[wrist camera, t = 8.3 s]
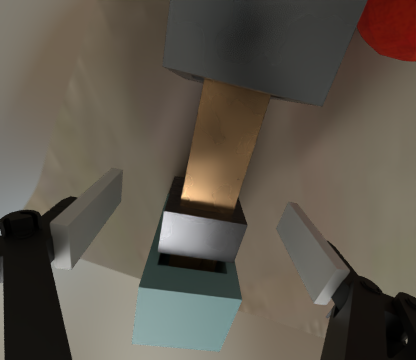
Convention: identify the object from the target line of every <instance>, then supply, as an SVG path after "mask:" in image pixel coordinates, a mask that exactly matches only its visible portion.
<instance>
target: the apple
mask: <svg viewBox="0 0 416 360" xmlns="http://www.w3.org/2000/svg"><path fill="white" fill-rule="evenodd" d="M357 28H358V30H359V32H360V34H361V36H362V38H363V39H364V40H365V41H366V42H367V43H368V44H369V45H370V46H371V47H372V48H373V49H374V50H375V51H376V52H378V53H379V54H381V55H384V56H388V57H391V58H395V59H399V60H403V61H416V0H368V1H367V3H366V5H365V8H364V10H363V12H362V15H361V17H360V19H359V22H358V24H357Z"/></svg>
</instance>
